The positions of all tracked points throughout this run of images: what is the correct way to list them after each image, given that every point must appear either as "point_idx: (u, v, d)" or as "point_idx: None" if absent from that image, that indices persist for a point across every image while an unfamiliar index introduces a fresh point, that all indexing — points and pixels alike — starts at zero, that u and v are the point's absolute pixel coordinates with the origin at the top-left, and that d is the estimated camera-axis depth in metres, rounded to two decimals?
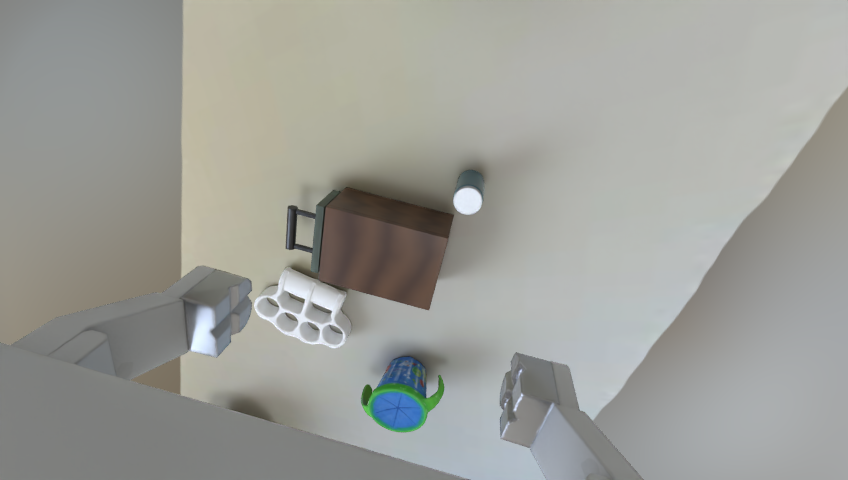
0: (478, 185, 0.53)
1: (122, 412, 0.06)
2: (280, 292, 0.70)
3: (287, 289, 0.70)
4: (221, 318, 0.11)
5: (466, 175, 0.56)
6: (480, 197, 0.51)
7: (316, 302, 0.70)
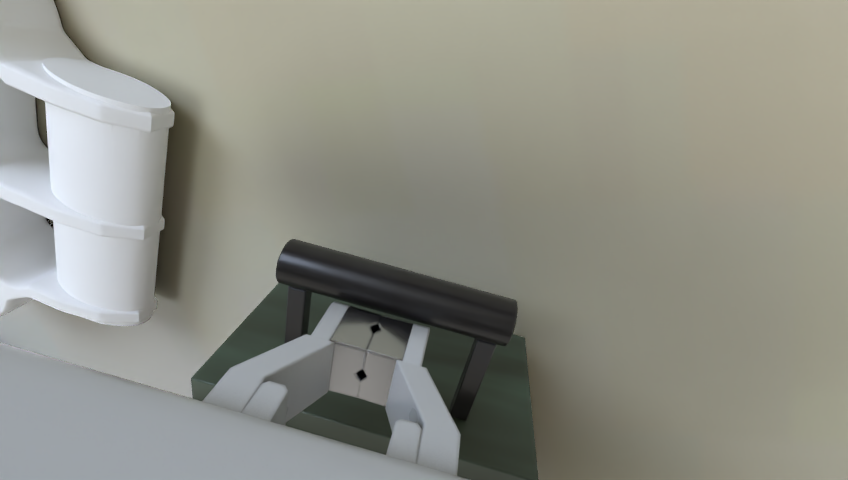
0: None
1: (122, 412, 0.06)
2: (18, 87, 0.14)
3: (53, 119, 0.15)
4: None
5: None
6: None
7: (60, 236, 0.17)
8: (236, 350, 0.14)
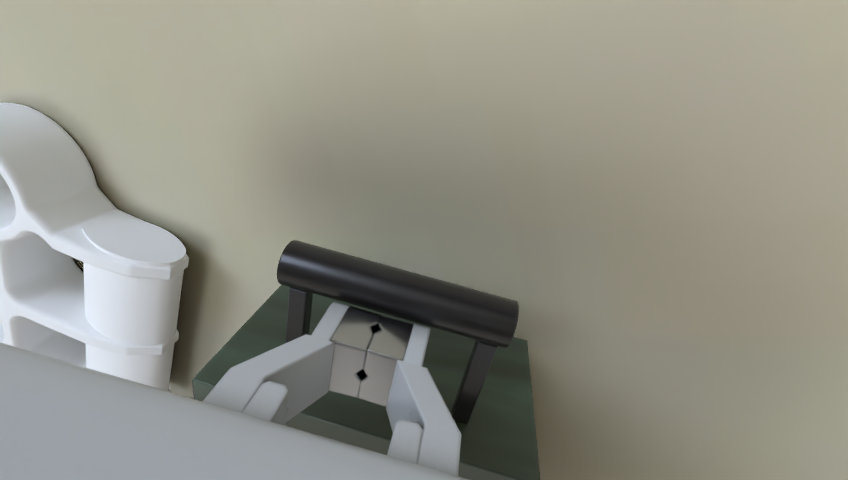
0: None
1: (122, 412, 0.06)
2: (63, 252, 0.17)
3: (90, 271, 0.18)
4: None
5: None
6: None
7: (91, 351, 0.21)
8: (237, 352, 0.14)
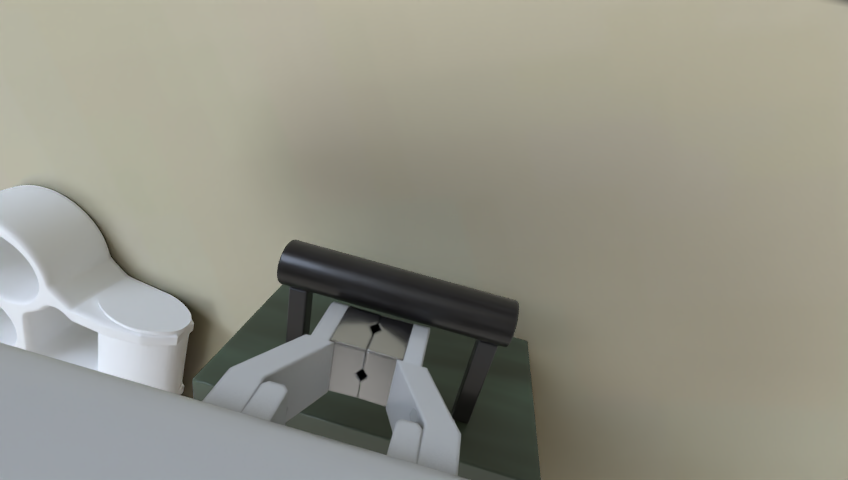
0: None
1: (122, 412, 0.06)
2: (81, 323, 0.19)
3: (105, 338, 0.20)
4: None
5: None
6: None
7: None
8: (237, 352, 0.14)
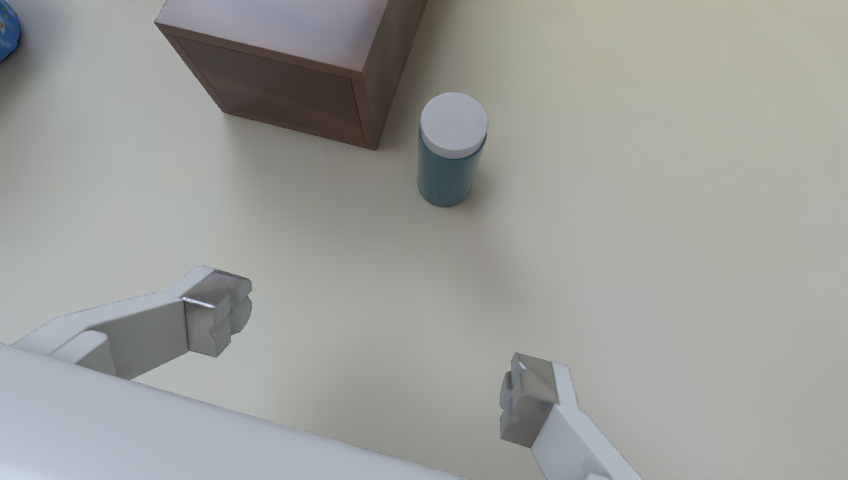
0: (475, 161, 0.24)
1: (122, 412, 0.06)
2: None
3: None
4: (221, 318, 0.11)
5: None
6: (465, 147, 0.22)
7: None
8: None
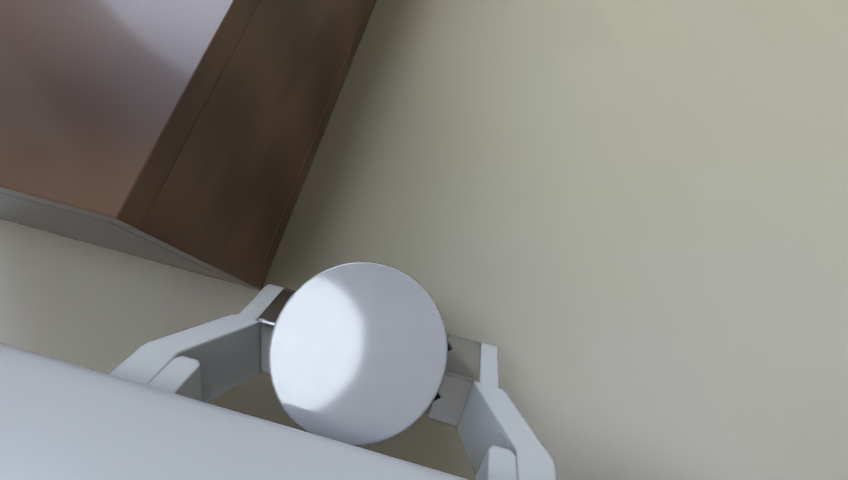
0: None
1: (122, 412, 0.06)
2: None
3: None
4: None
5: None
6: (381, 435, 0.08)
7: None
8: None
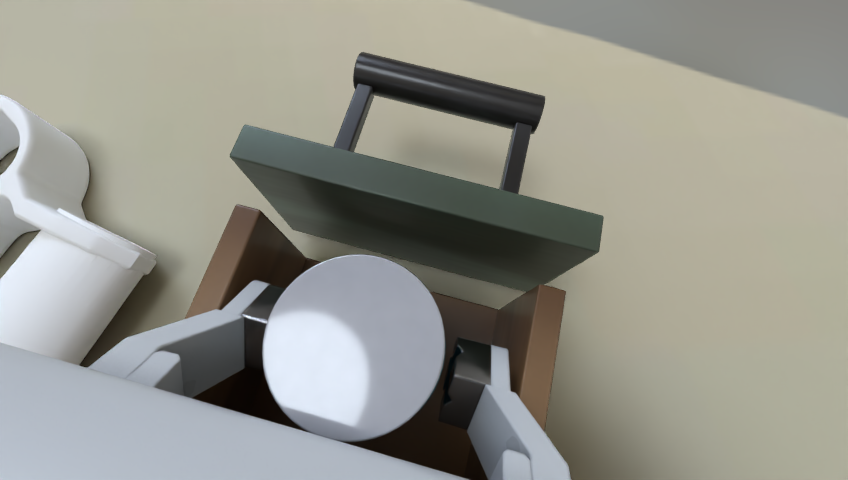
0: None
1: (122, 412, 0.06)
2: (25, 217, 0.16)
3: (35, 249, 0.16)
4: None
5: None
6: (377, 431, 0.08)
7: None
8: None
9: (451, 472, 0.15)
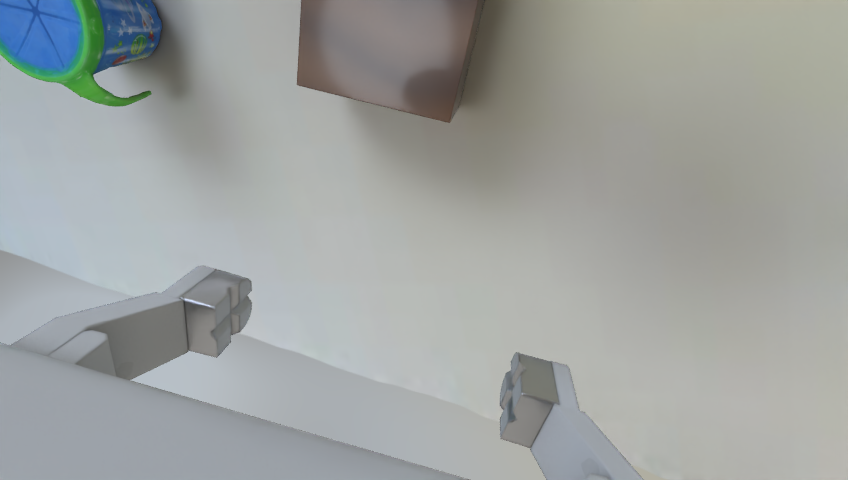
0: None
1: (122, 412, 0.06)
2: None
3: None
4: (221, 318, 0.11)
5: None
6: None
7: None
8: None
9: None
